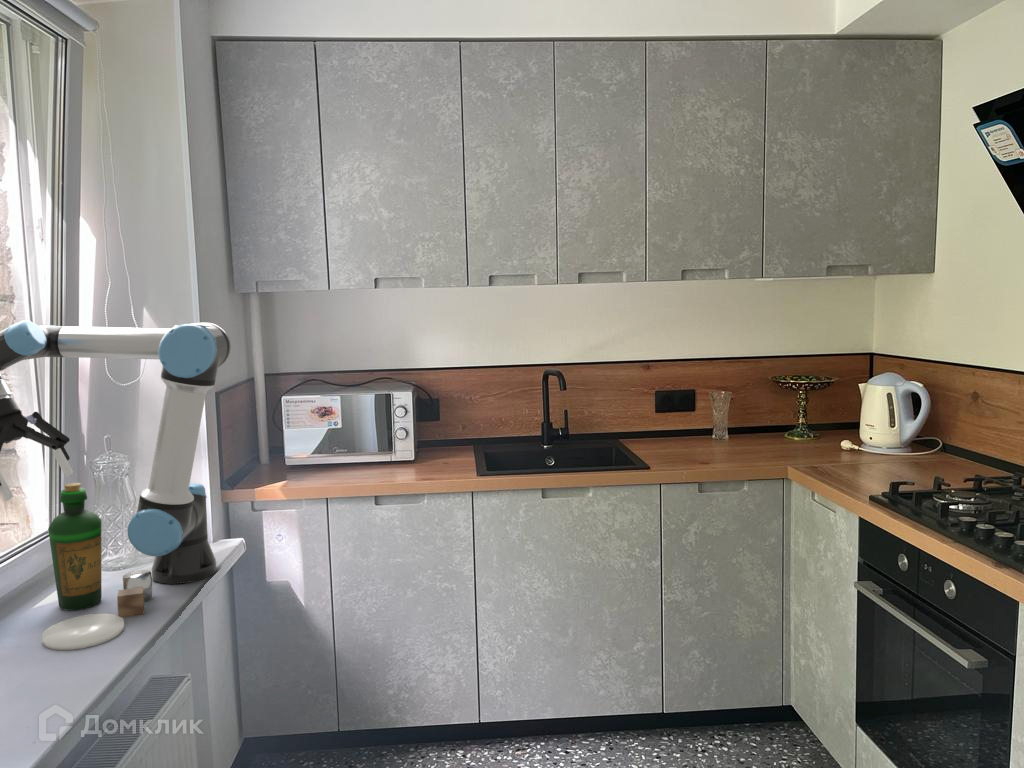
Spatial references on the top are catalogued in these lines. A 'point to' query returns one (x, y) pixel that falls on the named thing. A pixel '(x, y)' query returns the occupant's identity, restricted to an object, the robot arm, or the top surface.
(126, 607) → the walnut block
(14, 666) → the top surface
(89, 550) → the bottle
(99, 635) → the white round disc
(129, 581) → the metal tin
